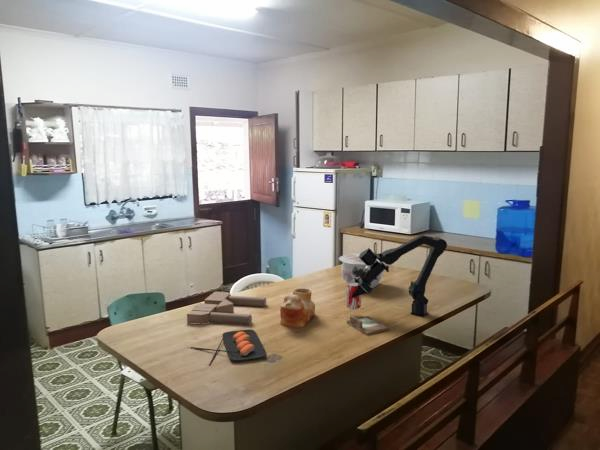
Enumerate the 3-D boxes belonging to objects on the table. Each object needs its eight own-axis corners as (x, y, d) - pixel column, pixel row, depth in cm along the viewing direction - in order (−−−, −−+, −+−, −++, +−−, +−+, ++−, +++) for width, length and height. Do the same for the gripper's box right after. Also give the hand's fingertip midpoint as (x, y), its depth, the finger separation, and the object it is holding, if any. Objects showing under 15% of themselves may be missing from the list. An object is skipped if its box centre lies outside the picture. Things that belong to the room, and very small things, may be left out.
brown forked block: (187, 324, 218) (247, 328, 212) (186, 313, 217) (246, 317, 211) (215, 300, 252) (267, 303, 246) (214, 290, 251) (267, 293, 245)
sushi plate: (268, 360, 180) (268, 351, 179) (189, 371, 172) (188, 361, 171) (254, 332, 207) (253, 324, 207) (185, 340, 199) (184, 332, 198)
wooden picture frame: (346, 323, 216) (346, 314, 215) (367, 318, 222) (368, 310, 221) (366, 335, 202) (366, 326, 201) (388, 330, 207) (389, 321, 207)
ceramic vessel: (272, 328, 210) (272, 296, 208) (293, 309, 235) (292, 281, 232) (301, 332, 206) (301, 300, 203) (319, 312, 230) (319, 283, 228)
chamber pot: (353, 277, 292) (353, 245, 289) (393, 284, 277) (394, 250, 273) (329, 288, 270) (329, 253, 267) (371, 296, 254) (372, 259, 251)
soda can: (357, 311, 221) (357, 286, 219) (343, 308, 224) (343, 284, 223) (363, 306, 227) (363, 283, 225) (350, 304, 230) (350, 281, 228)
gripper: (358, 256, 231) (336, 278, 233) (365, 265, 213) (341, 289, 214) (374, 271, 233) (352, 292, 234) (382, 281, 214) (358, 305, 216)
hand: (350, 294), depth 224 cm, fingers closed on soda can, 7 cm apart
